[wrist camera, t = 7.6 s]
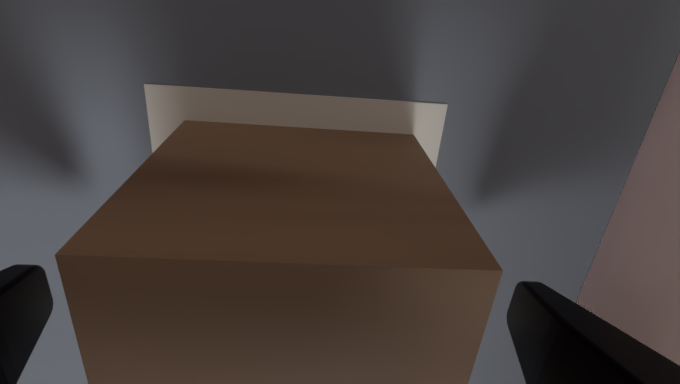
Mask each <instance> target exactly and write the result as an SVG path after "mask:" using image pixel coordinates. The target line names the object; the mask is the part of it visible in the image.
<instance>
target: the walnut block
mask: <svg viewBox="0 0 680 384" xmlns="http://www.w3.org/2000/svg"><path fill="white" fill-rule="evenodd" d="M55 258H56V262H57V266H58V270H59V273H60V277H61V281H62V285H63V289H64V293H65V296H66V300H67V304H68V308H69V312H70V316H71V320H72V323H73V327H74V331H75V335H76V339H77V343H78V347H79V350H80V354H81V358H82V362H83V366H84V370H85V374H86V377H87V381H88V384H468V383H469V379H470V376H471V373H472V370H473V367H474V363H475V360H476V357H477V354H478V350H479V347H480V344H481V341H482V338H483V334H484V331H485V328H486V325H487V321H488V318H489V315H490V312H491V308H492V305H493V302H494V299H495V296H496V292H497V289H498V286H499V283H500V279H501V276H502V273H503V270H502V268H501V267H500V265H499V264H498V262H497V261H496V259H495V258H494V256H493V255H492V253H491V252H490V250H489V249H488V247H487V245H486V244H485V242H484V241H483V239H482V238H481V236H480V235H479V233H478V232H477V230H476V229H475V227H474V226H473V224H472V223H471V221H470V220H469V218H468V217H467V215H466V213H465V212H464V210H463V209H462V207H461V206H460V204H459V203H458V201H457V200H456V198H455V197H454V195H453V194H452V192H451V191H450V189H449V188H448V186H447V185H446V183H445V182H444V180H443V178H442V177H441V175H440V174H439V172H438V171H437V169H436V168H435V166H434V165H433V163H432V162H431V160H430V159H429V157H428V156H427V154H426V153H425V151H424V150H423V148H422V146H421V145H420V143H419V142H418V140H417V139H416V137H415V136H414V135H413V134H397V133H381V132H365V131H349V130H333V129H317V128H302V127H286V126H270V125H254V124H238V123H222V122H206V121H190V120H184V121H183V122H182V123H181V124H180V125H179V126H178V127H177V129H176V130H175V131H174V132H173V133H172V134H171V135H170V136H169V137H168V138H167V139H166V140H165V141H164V142H163V143H162V144H161V145H160V146H159V147H158V148H157V149H156V150H155V151H154V152H153V153H152V154H151V155H150V156H149V158H148V159H147V160H146V161H145V162H144V163H143V164H142V165H141V166H140V167H139V168H138V169H137V170H136V171H135V172H134V173H133V174H132V175H131V176H130V177H129V178H128V179H127V180H126V181H125V182H124V183H123V184H122V185H121V187H120V188H119V189H118V190H117V191H116V192H115V193H114V194H113V195H112V196H111V197H110V198H109V199H108V200H107V201H106V202H105V203H104V204H103V205H102V206H101V207H100V208H99V209H98V210H97V211H96V212H95V213H94V214H93V216H92V217H91V218H90V219H89V220H88V221H87V222H86V223H85V224H84V225H83V226H82V227H81V228H80V229H79V230H78V231H77V232H76V233H75V234H74V235H73V236H72V237H71V238H70V239H69V240H68V241H67V242H66V243H65V244H64V246H63V247H62V248H61V249H60V250H59V251H58V252H57V253H56V254H55Z"/></svg>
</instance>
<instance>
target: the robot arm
mask: <svg viewBox="0 0 680 384" xmlns="http://www.w3.org/2000/svg"><path fill="white" fill-rule="evenodd" d="M52 310H53V297H52V294H51V290H50V286H49V283H48V279H47V276H46V272H45V270H44V269H43V267H41V266H39V265H30V264H16V265H12V266H10V267H8V268H5V269H3V270H1V271H0V384H17V382H18V380H19V378H20V376H21V374H22V372H23V370H24V368H25V366H26V364H27V362H28V360H29V358H30V356H31V354H32V352H33V350H34V348H35V346H36V344H37V342H38V340H39V338H40V336H41V334H42V332H43V329H44V327H45V325H46V323H47V321H48V319H49V317H50V315H51V313H52ZM506 318H507V325H508V329H509V332H510V335H511V338H512V341H513V344H514V348H515V351H516V354H517V357H518V360H519V363H520V366H521V370H522V373H523V376H524V379H525V382H526V384H680V366H679V365H677V364H676V363H674V362H672V361H671V360H669V359H667V358H666V357H664V356H662V355H661V354H659V353H657V352H656V351H654V350H652V349H651V348H649V347H648V346H646V345H644V344H643V343H641V342H639V341H638V340H636V339H634V338H633V337H631V336H629V335H628V334H626V333H624V332H623V331H621V330H619V329H618V328H616V327H614V326H613V325H611V324H609V323H608V322H606V321H604V320H603V319H601V318H600V317H598V316H596V315H595V314H593V313H591V312H590V311H588V310H586V309H585V308H583V307H581V306H580V305H578V304H576V303H575V302H573V301H571V300H570V299H568V298H566V297H565V296H563V295H561V294H560V293H558V292H556V291H555V290H553V289H552V288H550V287H548V286H547V285H545V284H543V283H541V282H538V281H520V282H518V283H517V285H516V287H515V289H514V292H513V295H512V298H511V301H510V304H509V307H508V310H507V316H506Z"/></svg>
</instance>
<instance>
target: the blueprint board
mask: <svg viewBox="0 0 680 384" xmlns="http://www.w3.org/2000/svg"><path fill="white" fill-rule="evenodd" d="M679 52H680V0H0V271H1V270H3V269H5V268H8V267H10V266H12V265H16V264H30V265H39V266H41V267H43V269H44V270H45V272H46V276H47V279H48V283H49V286H50V290H51V294H52V297H53V310H52V313H51V315H50V317H49V319H48V321H47V323H46V325H45V327H44V329H43V332H42V334H41V336H40V338H39V340H38V342H37V344H36V346H35V348H34V350H33V352H32V354H31V356H30V358H29V360H28V362H27V364H26V366H25V368H24V370H23V372H22V374H21V376H20V378H19V380H18V382H17V384H88V381H87V377H86V374H85V370H84V366H83V362H82V358H81V354H80V350H79V347H78V343H77V339H76V335H75V331H74V327H73V323H72V320H71V316H70V312H69V308H68V304H67V300H66V296H65V293H64V289H63V285H62V281H61V277H60V273H59V270H58V266H57V262H56V258H55V254H56V253H57V252H58V251H59V250H60V249H61V248H62V247H63V246H64V244H65V243H66V242H67V241H68V240H69V239H70V238H71V237H72V236H73V235H74V234H75V233H76V232H77V231H78V230H79V229H80V228H81V227H82V226H83V225H84V224H85V223H86V222H87V221H88V220H89V219H90V218H91V217H92V216H93V214H94V213H95V212H96V211H97V210H98V209H99V208H100V207H101V206H102V205H103V204H104V203H105V202H106V201H107V200H108V199H109V198H110V197H111V196H112V195H113V194H114V193H115V192H116V191H117V190H118V189H119V188H120V187H121V185H122V184H123V183H124V182H125V181H126V180H127V179H128V178H129V177H130V176H131V175H132V174H133V173H134V172H135V171H136V170H137V169H138V168H139V167H140V166H141V165H142V164H143V163H144V162H145V161H146V160H147V159H148V158H149V156H150V155H151V154H152V153H153V152H154V151H155V150H156V149H157V148H158V147H159V146H160V145H161V144H162V143H163V142H164V141H165V140H166V139H167V138H168V137H169V136H170V135H171V134H172V133H173V132H174V131H175V130H176V129H177V127H178V126H179V125H180V124H181V123H182V122H183V121H184V120H190V121H206V122H222V123H238V124H254V125H270V126H286V127H302V128H317V129H333V130H349V131H365V132H381V133H397V134H413V135H414V136H415V137H416V139H417V140H418V142H419V143H420V145H421V146H422V148H423V150H424V151H425V153H426V154H427V156H428V157H429V159H430V160H431V162H432V163H433V165H434V166H435V168H436V169H437V171H438V172H439V174H440V175H441V177H442V178H443V180H444V182H445V183H446V185H447V186H448V188H449V189H450V191H451V192H452V194H453V195H454V197H455V198H456V200H457V201H458V203H459V204H460V206H461V207H462V209H463V210H464V212H465V213H466V215H467V217H468V218H469V220H470V221H471V223H472V224H473V226H474V227H475V229H476V230H477V232H478V233H479V235H480V236H481V238H482V239H483V241H484V242H485V244H486V245H487V247H488V249H489V250H490V252H491V253H492V255H493V256H494V258H495V259H496V261H497V262H498V264H499V265H500V267H501V268H502V270H503V273H502V276H501V279H500V283H499V286H498V289H497V292H496V296H495V299H494V302H493V305H492V308H491V312H490V315H489V318H488V321H487V325H486V328H485V331H484V334H483V338H482V341H481V344H480V347H479V350H478V354H477V357H476V360H475V363H474V367H473V370H472V373H471V376H470V379H469V383H468V384H526V382H525V379H524V376H523V373H522V370H521V366H520V363H519V360H518V357H517V354H516V351H515V348H514V344H513V341H512V338H511V335H510V332H509V329H508V325H507V318H506V316H507V310H508V307H509V304H510V301H511V298H512V295H513V292H514V289H515V287H516V285H517V283H518V282H520V281H538V282H541V283H543V284H545V285H547V286H548V287H550V288H552V289H553V290H555V291H556V292H558V293H560V294H561V295H563V296H565V297H566V298H568V299H570V300H571V301H573V302H576V300H577V297H578V295H579V292H580V290H581V288H582V285H583V283H584V280H585V278H586V276H587V273H588V271H589V268H590V266H591V264H592V261H593V259H594V256H595V254H596V252H597V249H598V247H599V244H600V242H601V239H602V237H603V235H604V232H605V230H606V227H607V225H608V223H609V220H610V218H611V215H612V213H613V211H614V208H615V206H616V203H617V201H618V199H619V196H620V194H621V191H622V189H623V187H624V184H625V182H626V179H627V177H628V175H629V172H630V170H631V167H632V165H633V163H634V160H635V158H636V155H637V153H638V151H639V148H640V146H641V143H642V141H643V139H644V136H645V134H646V131H647V129H648V127H649V124H650V122H651V119H652V117H653V115H654V112H655V110H656V107H657V105H658V103H659V100H660V98H661V95H662V93H663V91H664V88H665V86H666V83H667V81H668V79H669V76H670V74H671V71H672V69H673V67H674V64H675V62H676V59H677V57H678V55H679Z"/></svg>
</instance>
